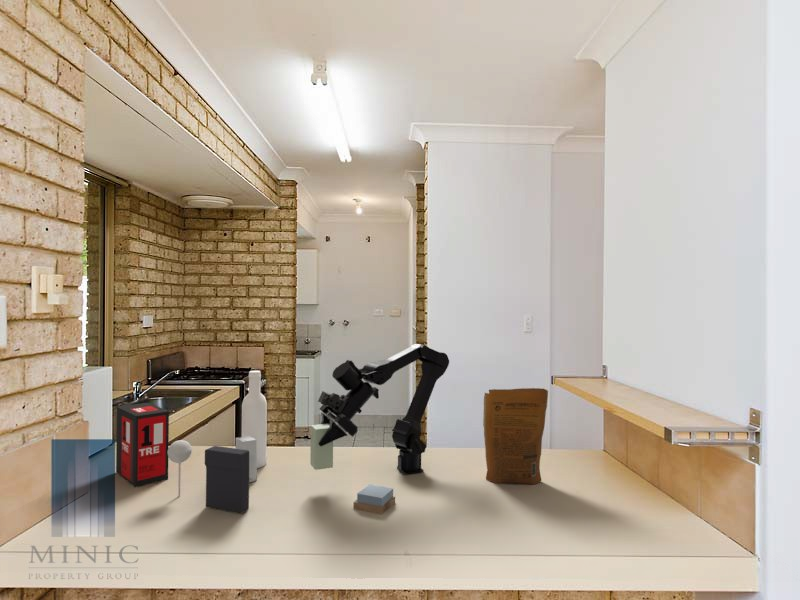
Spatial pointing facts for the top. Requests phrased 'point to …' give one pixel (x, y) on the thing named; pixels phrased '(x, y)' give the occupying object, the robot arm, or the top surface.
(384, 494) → the slate top block
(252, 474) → the skincare box
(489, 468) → the pancake mix bag
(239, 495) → the calculator
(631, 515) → the top surface
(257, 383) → the bottle
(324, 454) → the sage block
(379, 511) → the walnut base block
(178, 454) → the lollipop
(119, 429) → the cleaning product box
